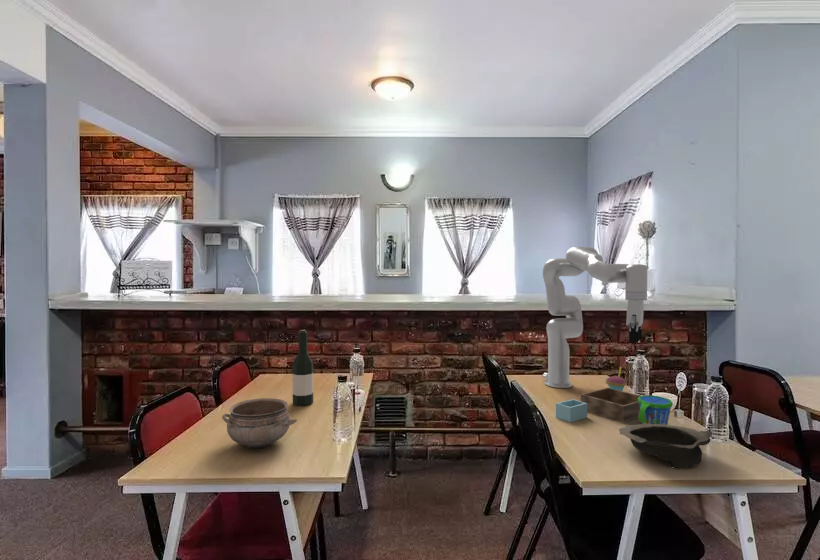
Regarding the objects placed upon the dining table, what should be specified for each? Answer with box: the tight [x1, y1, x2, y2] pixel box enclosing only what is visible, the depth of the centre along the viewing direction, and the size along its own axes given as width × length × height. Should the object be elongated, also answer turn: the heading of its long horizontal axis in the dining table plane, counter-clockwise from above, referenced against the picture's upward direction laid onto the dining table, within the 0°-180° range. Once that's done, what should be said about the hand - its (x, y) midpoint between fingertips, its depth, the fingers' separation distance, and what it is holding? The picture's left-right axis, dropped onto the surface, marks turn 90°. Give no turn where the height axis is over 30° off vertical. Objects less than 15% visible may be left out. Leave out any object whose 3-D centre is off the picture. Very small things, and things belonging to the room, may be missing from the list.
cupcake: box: [605, 366, 627, 392], centre depth 206 cm, size 9×8×12 cm
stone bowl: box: [618, 423, 713, 469], centre depth 137 cm, size 25×25×9 cm
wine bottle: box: [292, 329, 314, 407], centre depth 187 cm, size 8×8×30 cm
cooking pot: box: [221, 397, 298, 450], centre depth 144 cm, size 25×19×12 cm
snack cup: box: [637, 395, 674, 425], centre depth 160 cm, size 16×10×10 cm
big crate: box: [580, 387, 641, 423], centre depth 178 cm, size 18×18×6 cm
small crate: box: [555, 398, 588, 423], centre depth 171 cm, size 6×10×6 cm, turn 124°
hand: (635, 340), depth 177 cm, fingers open, 9 cm apart
